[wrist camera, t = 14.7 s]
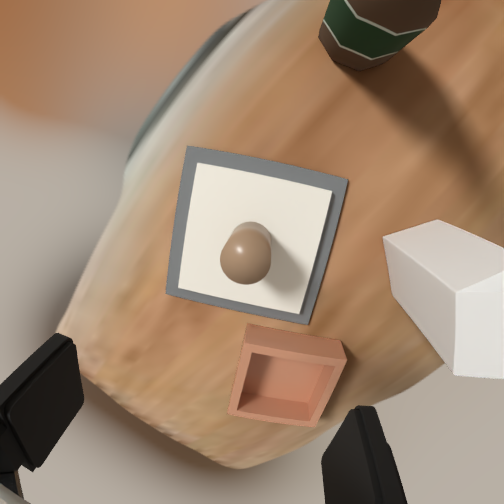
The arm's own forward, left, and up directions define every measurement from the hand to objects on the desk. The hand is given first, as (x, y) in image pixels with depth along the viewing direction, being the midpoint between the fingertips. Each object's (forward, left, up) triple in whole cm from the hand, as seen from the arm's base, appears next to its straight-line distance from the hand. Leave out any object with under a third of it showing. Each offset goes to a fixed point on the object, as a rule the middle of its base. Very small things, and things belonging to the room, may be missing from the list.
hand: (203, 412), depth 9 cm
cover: (0, 0, -23) cm, 23 cm away
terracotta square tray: (-7, +15, -23) cm, 28 cm away
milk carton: (-18, -2, -23) cm, 30 cm away
